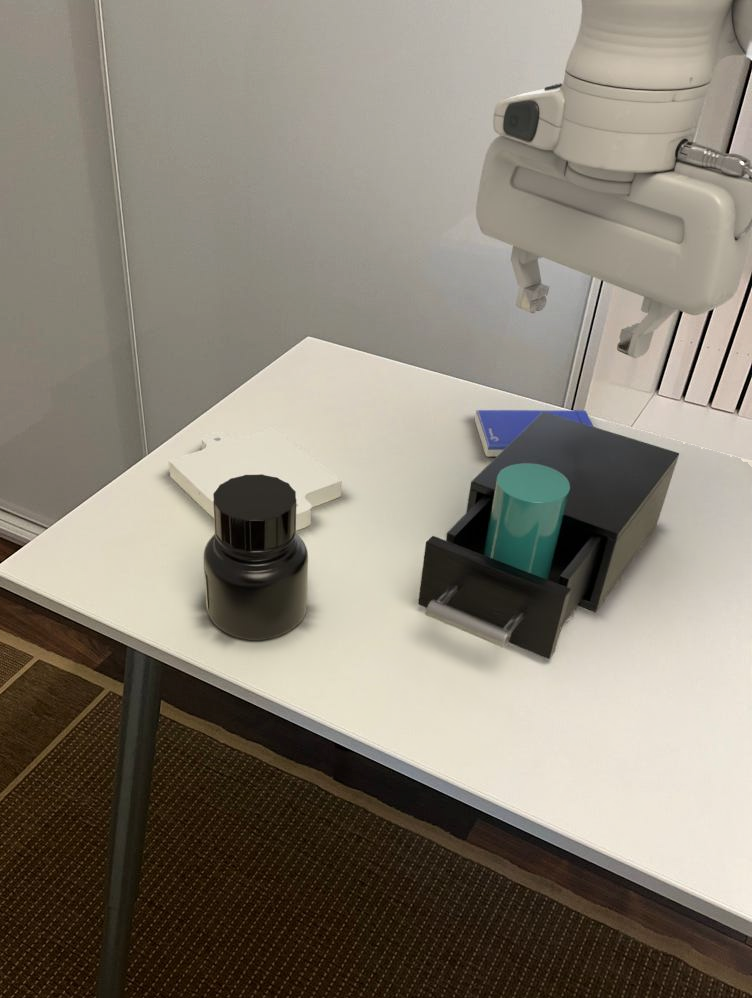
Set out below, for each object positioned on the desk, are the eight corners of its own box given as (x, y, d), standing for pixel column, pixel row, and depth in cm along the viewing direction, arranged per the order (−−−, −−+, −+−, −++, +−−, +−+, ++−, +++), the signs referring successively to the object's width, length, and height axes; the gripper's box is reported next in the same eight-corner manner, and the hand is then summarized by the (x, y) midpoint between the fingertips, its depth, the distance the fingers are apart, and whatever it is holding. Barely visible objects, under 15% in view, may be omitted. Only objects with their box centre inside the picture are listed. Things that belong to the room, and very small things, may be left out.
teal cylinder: (555, 583, 86) (581, 477, 79) (527, 618, 83) (552, 510, 75) (495, 560, 89) (515, 455, 81) (466, 593, 85) (484, 486, 78)
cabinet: (595, 612, 86) (618, 533, 81) (458, 558, 92) (470, 481, 87) (655, 528, 96) (679, 452, 90) (527, 484, 102) (542, 411, 96)
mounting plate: (159, 465, 105) (157, 450, 103) (260, 432, 110) (260, 417, 109) (246, 549, 93) (246, 533, 92) (355, 508, 99) (356, 492, 97)
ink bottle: (265, 565, 92) (264, 454, 84) (330, 610, 87) (335, 497, 79) (183, 609, 87) (173, 496, 79) (247, 659, 82) (243, 544, 74)
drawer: (527, 689, 78) (543, 625, 73) (393, 629, 83) (400, 567, 79) (613, 571, 89) (631, 510, 85) (490, 526, 95) (501, 466, 90)
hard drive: (488, 445, 105) (603, 445, 105) (476, 408, 111) (585, 408, 111) (486, 458, 106) (600, 458, 106) (474, 420, 112) (582, 420, 112)
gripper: (802, 154, 58) (727, 370, 67) (537, 86, 70) (505, 277, 79) (741, 174, 55) (672, 396, 64) (476, 99, 67) (450, 296, 76)
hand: (578, 330), depth 72 cm, fingers open, 8 cm apart
